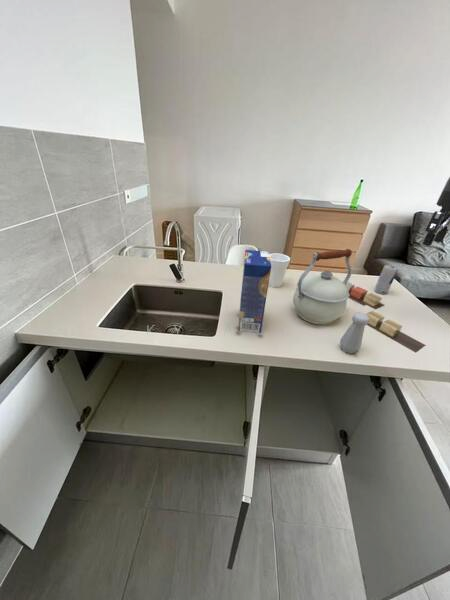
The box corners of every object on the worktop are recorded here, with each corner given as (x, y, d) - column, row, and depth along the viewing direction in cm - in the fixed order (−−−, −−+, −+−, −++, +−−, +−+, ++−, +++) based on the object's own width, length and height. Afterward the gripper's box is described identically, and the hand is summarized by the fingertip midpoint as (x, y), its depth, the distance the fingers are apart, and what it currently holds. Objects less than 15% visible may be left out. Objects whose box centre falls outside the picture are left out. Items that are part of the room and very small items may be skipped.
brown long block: (341, 285, 113) (344, 278, 111) (384, 306, 99) (388, 298, 97) (332, 289, 109) (334, 281, 108) (375, 311, 95) (378, 303, 93)
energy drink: (389, 292, 109) (400, 268, 103) (383, 295, 107) (394, 270, 100) (377, 287, 113) (387, 263, 107) (371, 290, 110) (381, 266, 104)
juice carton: (260, 333, 80) (271, 266, 68) (238, 331, 81) (244, 264, 68) (259, 312, 91) (268, 251, 78) (239, 311, 91) (245, 249, 78)
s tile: (355, 292, 106) (358, 286, 105) (365, 297, 103) (367, 290, 102) (349, 294, 104) (351, 288, 103) (359, 299, 101) (361, 293, 99)
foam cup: (262, 278, 115) (266, 252, 108) (282, 279, 115) (287, 253, 108) (265, 288, 107) (270, 261, 100) (286, 289, 107) (292, 262, 100)
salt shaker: (335, 342, 78) (347, 308, 71) (353, 343, 78) (367, 309, 71) (342, 355, 73) (356, 320, 66) (361, 356, 73) (377, 321, 66)
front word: (366, 315, 92) (370, 307, 90) (424, 347, 78) (430, 337, 76) (355, 320, 89) (359, 312, 87) (414, 354, 75) (420, 345, 73)
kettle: (306, 334, 81) (327, 265, 68) (277, 305, 95) (289, 244, 82) (362, 320, 89) (389, 257, 76) (327, 296, 104) (345, 239, 91)
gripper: (465, 192, 66) (435, 250, 74) (483, 191, 72) (454, 244, 81) (434, 189, 71) (409, 242, 79) (453, 187, 78) (428, 237, 86)
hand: (432, 243), depth 80 cm, fingers open, 8 cm apart
